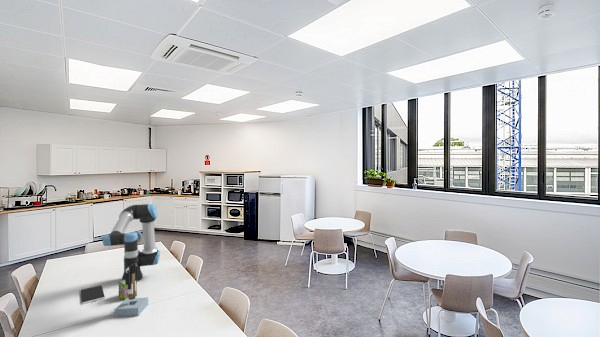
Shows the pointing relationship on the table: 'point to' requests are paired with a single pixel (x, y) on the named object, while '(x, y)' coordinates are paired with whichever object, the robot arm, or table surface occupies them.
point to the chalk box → (124, 290)
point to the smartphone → (92, 294)
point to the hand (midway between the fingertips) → (131, 292)
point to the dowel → (132, 296)
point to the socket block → (131, 307)
